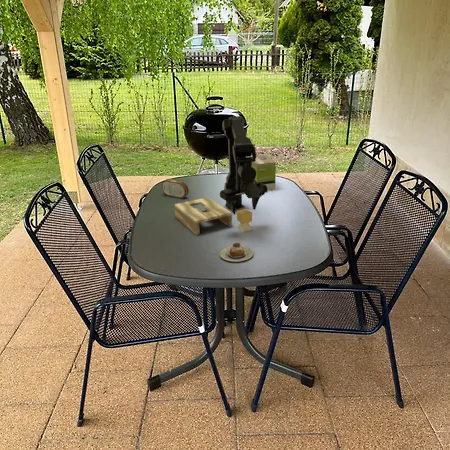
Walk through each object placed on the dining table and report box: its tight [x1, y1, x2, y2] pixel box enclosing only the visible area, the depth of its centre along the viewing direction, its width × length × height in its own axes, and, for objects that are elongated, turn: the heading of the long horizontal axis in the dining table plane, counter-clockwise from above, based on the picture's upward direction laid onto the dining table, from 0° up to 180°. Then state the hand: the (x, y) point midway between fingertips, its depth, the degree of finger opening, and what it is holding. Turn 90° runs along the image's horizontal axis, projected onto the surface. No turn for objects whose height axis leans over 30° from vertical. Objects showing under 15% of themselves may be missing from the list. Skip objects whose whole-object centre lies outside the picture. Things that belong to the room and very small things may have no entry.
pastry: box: [219, 242, 254, 263], centre depth 154 cm, size 12×12×5 cm
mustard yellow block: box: [236, 208, 253, 233], centre depth 174 cm, size 4×4×8 cm
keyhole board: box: [174, 197, 233, 236], centre depth 182 cm, size 16×22×6 cm
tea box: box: [252, 154, 277, 192], centre depth 221 cm, size 15×10×15 cm
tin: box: [161, 178, 190, 199], centre depth 212 cm, size 15×3×8 cm, turn 58°
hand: (244, 211), depth 173 cm, fingers open, 9 cm apart
